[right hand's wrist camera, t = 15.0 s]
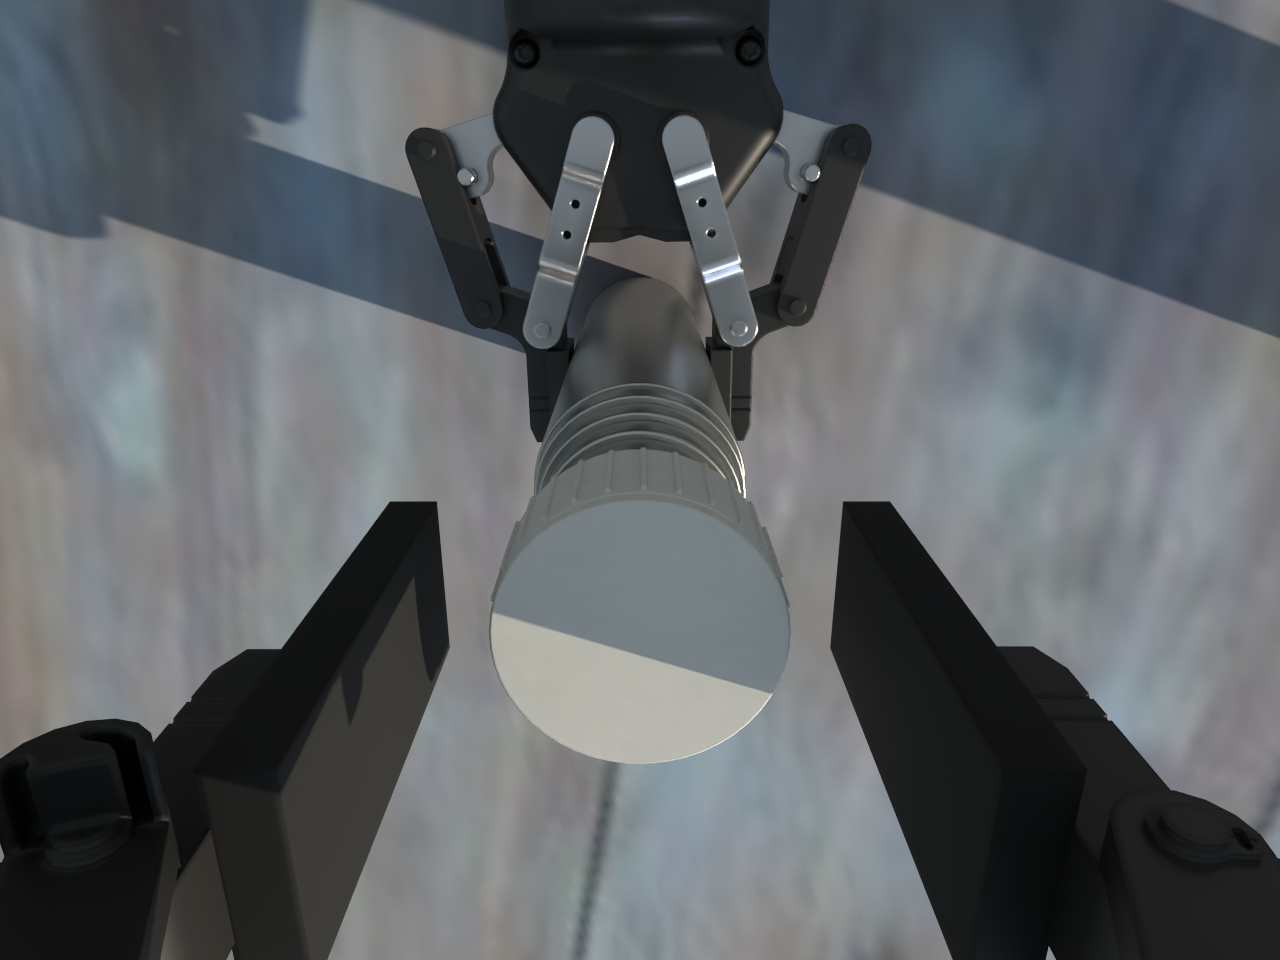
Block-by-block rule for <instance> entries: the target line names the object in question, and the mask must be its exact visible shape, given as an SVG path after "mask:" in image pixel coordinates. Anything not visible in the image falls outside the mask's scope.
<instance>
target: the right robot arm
mask: <svg viewBox="0 0 1280 960" xmlns="http://www.w3.org/2000/svg"><path fill="white" fill-rule="evenodd" d="M449 648H450V646H449V635H448V623H447V612H446V601H445V589H444V578H443V567H442V555H441V544H440V533H439V521H438V510H437V502H389V504H388V505H387V506H386V508H385V509H384V511H383V512H382V513H381V515H380V516H379V517H378V519H377V520H376V521H375V523H374V524H373V525H372V527H371V528H370V530H369V531H368V532H367V534H366V535H365V536H364V538H363V539H362V540H361V542H360V543H359V544H358V546H357V547H356V549H355V550H354V551H353V553H352V554H351V555H350V557H349V558H348V559H347V561H346V562H345V563H344V565H343V566H342V567H341V569H340V570H339V572H338V573H337V574H336V576H335V577H334V578H333V580H332V581H331V582H330V584H329V585H328V586H327V588H326V589H325V591H324V592H323V593H322V595H321V596H320V597H319V599H318V600H317V601H316V603H315V604H314V605H313V607H312V608H311V610H310V611H309V612H308V614H307V615H306V616H305V618H304V619H303V620H302V622H301V623H300V624H299V626H298V627H297V628H296V630H295V631H294V633H293V634H292V635H291V637H290V638H289V639H288V641H287V642H286V643H285V645H284V646H283V647H282V649H247V650H245V651H244V652H242V653H241V654H239V655H238V656H236V657H234V658H233V659H231V660H230V661H228V662H227V663H225V664H223V665H222V666H220V667H219V668H217V669H216V670H214V671H213V672H212V673H211V674H210V675H209V677H208V678H207V679H206V680H205V681H204V683H203V684H202V685H201V686H200V687H199V688H198V690H197V691H196V692H195V693H194V694H193V696H192V700H191V702H187V703H186V704H185V705H184V706H183V708H182V709H181V710H180V711H179V712H178V713H177V715H176V716H175V717H174V721H173V724H168V725H167V727H166V728H165V729H164V730H163V731H162V733H161V734H160V735H159V736H158V737H157V738H156V740H155V741H154V742H153V739H152V735H151V733H150V732H149V731H148V730H147V729H145V728H144V727H143V726H141V725H140V724H139V723H136V722H131V721H126V720H120V719H105V720H92V721H84V722H81V723H77V724H73V725H69V726H66V727H62V728H58V729H54V730H52V731H50V732H48V733H45V734H43V735H41V736H39V737H36V738H34V739H32V740H30V741H27V742H25V743H23V744H21V745H20V746H18V747H17V748H15V749H14V750H13V751H11V752H10V753H8V754H7V755H5V756H4V757H2V758H1V759H0V844H1V847H2V850H3V853H4V856H5V857H4V859H3V861H2V862H1V863H0V960H226V959H227V957H228V955H229V953H230V951H231V949H232V951H233V955H234V960H327V959H328V956H329V954H330V951H331V949H332V946H333V944H334V941H335V938H336V936H337V933H338V931H339V928H340V926H341V923H342V921H343V918H344V916H345V913H346V910H347V908H348V905H349V903H350V900H351V898H352V895H353V893H354V890H355V888H356V885H357V882H358V880H359V877H360V875H361V872H362V870H363V867H364V865H365V862H366V860H367V857H368V854H369V852H370V849H371V847H372V844H373V842H374V839H375V837H376V834H377V831H378V829H379V826H380V824H381V821H382V819H383V816H384V814H385V811H386V809H387V806H388V803H389V801H390V798H391V796H392V793H393V791H394V788H395V786H396V783H397V781H398V778H399V775H400V773H401V770H402V768H403V765H404V763H405V760H406V758H407V755H408V753H409V750H410V747H411V745H412V742H413V740H414V737H415V735H416V732H417V730H418V727H419V725H420V722H421V719H422V717H423V714H424V712H425V709H426V707H427V704H428V702H429V699H430V696H431V694H432V691H433V689H434V686H435V684H436V681H437V679H438V676H439V674H440V671H441V668H442V666H443V663H444V661H445V658H446V656H447V653H448V651H449ZM830 648H831V651H832V653H833V656H834V658H835V661H836V663H837V666H838V668H839V671H840V674H841V676H842V679H843V681H844V684H845V686H846V689H847V691H848V694H849V696H850V699H851V702H852V704H853V707H854V709H855V712H856V714H857V717H858V719H859V722H860V725H861V727H862V730H863V732H864V735H865V737H866V740H867V742H868V745H869V747H870V750H871V753H872V755H873V758H874V760H875V763H876V765H877V768H878V770H879V773H880V775H881V778H882V781H883V783H884V786H885V788H886V791H887V793H888V796H889V798H890V801H891V803H892V806H893V809H894V811H895V814H896V816H897V819H898V821H899V824H900V826H901V829H902V831H903V834H904V837H905V839H906V842H907V844H908V847H909V849H910V852H911V854H912V857H913V860H914V862H915V865H916V867H917V870H918V872H919V875H920V877H921V880H922V882H923V885H924V888H925V890H926V893H927V895H928V898H929V900H930V903H931V905H932V908H933V910H934V913H935V916H936V918H937V921H938V923H939V926H940V928H941V931H942V933H943V936H944V938H945V941H946V944H947V946H948V949H949V951H950V954H951V956H952V959H953V960H1046V955H1047V951H1048V946H1049V947H1050V949H1051V951H1052V953H1053V955H1054V956H1055V958H1056V960H1280V859H1279V858H1277V857H1276V855H1275V854H1274V852H1273V851H1272V850H1271V848H1270V847H1269V846H1268V844H1267V843H1266V841H1265V840H1264V839H1263V837H1262V836H1261V835H1260V834H1259V833H1258V832H1257V831H1255V830H1254V829H1253V828H1251V827H1250V826H1249V825H1248V824H1246V823H1245V822H1244V821H1243V820H1241V819H1240V818H1239V817H1237V816H1236V815H1234V814H1232V813H1231V812H1229V811H1227V810H1225V809H1223V808H1221V807H1219V806H1217V805H1215V804H1213V803H1211V802H1209V801H1207V800H1204V799H1201V798H1198V797H1194V796H1191V795H1188V794H1184V793H1181V792H1178V791H1173V790H1170V789H1169V788H1168V787H1167V785H1166V784H1165V783H1164V782H1163V781H1162V779H1161V778H1160V777H1159V776H1158V775H1157V774H1156V772H1155V771H1154V770H1153V769H1152V768H1151V766H1150V765H1149V764H1148V763H1147V762H1146V761H1145V759H1144V758H1143V757H1142V756H1141V755H1140V753H1139V752H1138V751H1137V750H1136V749H1135V748H1134V746H1133V745H1132V744H1131V743H1130V742H1129V740H1128V739H1127V738H1126V737H1125V736H1124V735H1123V733H1122V732H1121V731H1120V730H1119V729H1118V727H1117V726H1116V725H1115V724H1114V723H1113V721H1108V720H1107V714H1106V713H1105V712H1104V711H1103V710H1102V708H1101V707H1100V706H1099V705H1098V704H1097V703H1096V701H1095V700H1094V699H1090V698H1089V693H1088V692H1087V691H1086V690H1085V688H1084V687H1083V686H1082V685H1081V684H1080V682H1079V681H1078V680H1077V679H1076V678H1075V677H1074V675H1073V674H1072V673H1071V672H1070V671H1069V669H1068V668H1066V667H1065V666H1063V665H1061V664H1060V663H1058V662H1057V661H1055V660H1054V659H1052V658H1051V657H1049V656H1047V655H1046V654H1044V653H1043V652H1041V651H1040V650H1038V649H1036V648H1035V647H997V646H996V645H995V643H994V642H993V641H992V639H991V638H990V637H989V635H988V634H987V633H986V631H985V630H984V628H983V627H982V626H981V624H980V623H979V622H978V620H977V619H976V618H975V616H974V615H973V614H972V612H971V611H970V610H969V608H968V607H967V605H966V604H965V603H964V601H963V600H962V599H961V597H960V596H959V595H958V593H957V592H956V591H955V589H954V588H953V586H952V585H951V584H950V582H949V581H948V580H947V578H946V577H945V576H944V574H943V573H942V572H941V570H940V569H939V567H938V566H937V565H936V563H935V562H934V561H933V559H932V558H931V557H930V555H929V554H928V553H927V551H926V550H925V549H924V547H923V546H922V544H921V543H920V542H919V540H918V539H917V538H916V536H915V535H914V534H913V532H912V531H911V530H910V528H909V527H908V525H907V524H906V523H905V521H904V520H903V519H902V517H901V516H900V515H899V513H898V512H897V511H896V509H895V508H894V506H893V505H892V504H891V502H843V510H842V521H841V533H840V544H839V555H838V567H837V578H836V589H835V601H834V612H833V623H832V635H831V646H830Z"/></svg>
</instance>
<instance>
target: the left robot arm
mask: <svg viewBox="0 0 1280 960" xmlns="http://www.w3.org/2000/svg"><path fill="white" fill-rule="evenodd" d="M769 2H770V0H504V7H505V24H506V41H507V67H506V73H505V77H504V81H503V84H502V86H501V89H500V91H499V93H498V95H497V97H496V100H495V103H494V107H493V113H492V114H488V115H485V116H482V117H479V118H476V119H473V120H470V121H467V122H464V123H461V124H458V125H455V126H452V127H449V128H446V129H442V130H438V129H432V128H419V129H416V130H414V131H413V132H412V133H411V134H410V135H409V137H408V138H407V141H406V145H405V150H406V155H407V158H408V161H409V164H410V166H411V169H412V172H413V175H414V177H415V180H416V183H417V186H418V188H419V191H420V194H421V197H422V199H423V202H424V205H425V208H426V210H427V213H428V216H429V219H430V221H431V224H432V227H433V230H434V232H435V235H436V238H437V241H438V243H439V246H440V249H441V252H442V254H443V257H444V260H445V263H446V265H447V268H448V271H449V273H450V276H451V279H452V282H453V284H454V287H455V290H456V293H457V295H458V298H459V301H460V304H461V306H462V309H463V312H464V315H465V317H466V319H467V320H468V321H469V322H470V324H472V325H473V326H475V327H477V328H481V329H487V328H491V329H494V330H497V331H500V332H503V333H506V334H509V335H511V336H513V337H515V338H516V339H517V340H518V341H519V342H520V343H521V344H522V346H523V347H524V349H525V352H526V357H527V374H528V392H529V409H530V428H531V430H532V432H533V434H534V436H535V438H536V440H537V442H543V439H544V437H545V434H546V431H547V428H548V425H549V422H550V419H551V417H552V414H553V411H554V408H555V405H556V402H557V399H558V396H559V394H560V391H561V388H562V385H563V382H564V379H565V376H566V374H567V371H568V368H569V365H570V362H571V359H572V356H573V353H574V338H567V321H568V317H569V314H570V310H571V306H572V303H573V299H574V296H575V292H576V289H577V285H578V282H579V278H580V275H581V271H582V268H583V265H584V262H585V259H586V255H587V251H588V248H589V244H590V242H616V241H619V240H622V239H626V238H629V237H633V236H636V235H643V236H646V237H650V238H654V239H658V240H661V241H665V242H675V241H689V243H690V246H691V249H692V253H693V256H694V259H695V262H696V265H697V268H698V271H699V274H700V277H701V281H702V284H703V287H704V290H705V294H706V297H707V300H708V303H709V307H710V310H711V313H712V337H706V354H707V356H708V359H709V362H710V365H711V368H712V371H713V374H714V377H715V379H716V382H717V385H718V388H719V391H720V394H721V397H722V400H723V403H724V405H725V408H726V411H727V414H728V417H729V420H730V423H731V426H732V428H733V431H734V434H735V437H736V440H737V441H744V440H745V437H746V435H747V433H748V431H749V429H750V426H751V401H752V397H751V396H752V372H753V352H754V348H755V346H756V344H757V343H758V341H759V340H760V339H761V338H762V337H763V336H764V335H766V334H768V333H770V332H773V331H775V330H778V329H781V328H783V327H786V326H789V325H790V326H802V325H804V324H806V323H808V322H809V321H810V320H811V319H812V318H813V316H814V315H815V312H816V310H817V307H818V304H819V301H820V298H821V295H822V292H823V289H824V286H825V283H826V280H827V277H828V274H829V271H830V269H831V266H832V263H833V260H834V257H835V254H836V251H837V248H838V245H839V242H840V239H841V236H842V233H843V230H844V227H845V224H846V222H847V219H848V216H849V213H850V210H851V207H852V204H853V201H854V198H855V195H856V192H857V189H858V186H859V183H860V180H861V177H862V175H863V172H864V169H865V166H866V163H867V160H868V157H869V154H870V151H871V138H870V135H869V133H868V132H867V130H866V129H865V128H864V127H862V126H860V125H857V124H840V125H833V124H830V123H826V122H823V121H820V120H816V119H813V118H810V117H806V116H803V115H800V114H796V113H793V112H790V111H786V110H783V103H782V99H781V96H780V94H779V92H778V90H777V88H776V86H775V84H774V82H773V79H772V76H771V73H770V68H769V63H768V29H769ZM772 144H775V145H776V146H778V147H779V148H780V150H781V151H782V153H783V155H784V159H785V167H784V180H785V182H786V184H787V186H788V187H789V188H790V189H791V190H793V191H795V192H798V193H799V194H798V197H797V200H796V203H795V206H794V209H793V213H792V216H791V219H790V222H789V225H788V228H787V231H786V235H785V238H784V241H783V244H782V247H781V250H780V253H779V257H778V260H777V263H776V266H775V269H774V272H773V275H772V278H771V282H770V284H768V285H765V286H762V287H760V288H757V289H754V290H752V291H748V288H747V284H746V281H745V277H744V274H743V270H742V264H741V259H740V255H739V252H738V248H737V245H736V241H735V238H734V235H733V231H732V228H731V224H730V221H729V217H728V214H727V210H726V209H727V208H728V206H729V205H730V203H731V202H732V200H733V199H734V198H735V196H736V195H737V193H738V192H739V191H740V189H741V188H742V186H743V185H744V184H745V182H746V181H747V179H748V178H749V176H750V175H751V174H752V172H753V171H754V169H755V168H756V167H757V165H758V164H759V162H760V161H761V160H762V158H763V157H764V155H765V154H766V153H767V151H768V150H769V148H770V147H771V146H772ZM503 147H505V149H506V150H507V151H508V153H509V154H510V155H511V157H512V158H513V159H514V161H515V162H516V163H517V165H518V166H519V167H520V169H521V170H522V171H523V173H524V174H525V176H526V177H527V178H528V180H529V181H530V182H531V184H532V185H533V186H534V188H535V189H536V190H537V192H538V193H539V194H540V196H541V197H542V198H543V200H544V201H545V202H546V204H547V205H548V206H549V208H550V209H551V211H552V213H551V217H550V220H549V224H548V228H547V232H546V235H545V239H544V243H543V247H542V251H541V254H540V258H539V263H538V269H537V274H536V278H535V282H534V286H533V290H532V293H531V294H530V293H527V292H524V291H521V290H518V289H516V288H513V287H510V284H509V281H508V278H507V275H506V273H505V270H504V267H503V264H502V261H501V258H500V255H499V252H498V249H497V246H496V243H495V240H494V237H493V235H492V232H491V229H490V226H489V223H488V220H487V217H486V214H485V211H484V208H483V205H482V202H481V199H480V196H482V195H484V194H486V193H487V192H488V191H489V190H490V189H491V187H492V185H493V182H494V172H493V160H494V157H495V155H496V153H497V152H498V151H499V150H500V149H501V148H503Z"/></svg>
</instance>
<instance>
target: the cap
mask: <svg viewBox="0 0 1280 960" xmlns="http://www.w3.org/2000/svg"><path fill="white" fill-rule="evenodd" d="M781 577H783V576H782V573H781V570H780V567H779V564H778V561H777V558H776V556H775V553H774V550H773V547H772V544H771V541H770V538H769V535H768V532H767V529H766V527H763V528H762V527H761V525H760V522H759V520H758V517H757V514H756V511H755V508H754V505H753V503H752V502H751V501H750V502H749V503H748V502H747V500H746V499H745V498H744V497H743V495H742V494H741V493H740V492H739V491H738V490H737V489H736V488H735V485H734V482H733V481H732V480H731V479H730V480H729V481H728V480H727V479H725V478H724V477H722V476H721V475H720V474H718V473H717V472H716V471H714V470H712V469H711V468H709V467H708V464H706V463H705V462H703V464H702V463H700V462H697V461H695V460H692V459H690V458H687V457H685V456H681V455H678V452H674V451H673V453H670V452H665V451H657V450H649V449H646V448H644V447H641V449H631V450H622V451H614V450H610V451H608V453H606V454H602V455H598V456H595V457H592V458H590V459H587V460H585V461H583V459H581V460H579V461H578V463H577V464H576V465H574V466H573V467H571V468H569V469H567V470H565V471H564V472H563V473H561V474H560V475H558V476H556V475H554V476H553V477H551V480H550V483H548V484H547V485H546V486H545V487H544V488H543V489H542V490H541V491H540V492H539V493H538V495H537V496H536V497H534V496H532V497H531V499H530V501H529V504H528V507H527V510H526V512H525V514H524V515H523V517H522V519H521V521H520V522H519V521H516V524H515V526H514V529H513V532H512V535H511V538H510V541H509V544H508V546H507V549H506V552H505V555H504V558H503V561H502V564H501V567H500V573H499V576H498V579H497V582H496V585H495V587H494V590H493V593H492V596H491V601H493V605H492V609H491V613H490V625H489V637H490V649H491V653H492V658H493V663H494V666H495V669H496V671H497V674H498V677H499V679H500V682H501V683H502V685H503V687H504V689H505V691H506V693H507V694H508V696H509V698H510V699H511V700H512V702H513V703H514V704H515V706H516V707H517V708H518V710H519V711H520V712H521V713H522V714H523V715H524V716H525V717H526V718H527V719H528V720H529V721H530V722H531V723H532V724H533V725H534V726H535V727H537V728H538V729H539V730H540V731H542V732H543V733H544V734H545V735H547V736H549V737H550V738H552V739H553V740H555V741H557V742H558V743H560V744H562V745H564V746H566V747H568V748H570V749H572V750H574V751H577V752H579V753H582V754H585V755H588V756H591V757H594V758H599V759H603V760H608V761H613V762H622V763H658V762H667V761H672V760H676V759H681V758H685V757H688V756H691V755H694V754H697V753H700V752H703V751H705V750H707V749H709V748H711V747H714V746H716V745H718V744H720V743H721V742H723V741H725V740H726V739H728V738H729V737H731V736H733V735H734V734H735V733H737V732H738V731H739V730H740V729H742V728H743V727H744V726H745V725H747V724H748V723H749V722H750V721H751V720H752V719H753V718H754V717H755V716H756V715H757V714H758V713H759V712H760V710H761V709H762V708H763V706H764V705H765V704H766V702H767V701H768V700H769V698H770V697H771V695H772V693H773V692H774V690H775V688H776V686H777V684H778V683H779V680H780V678H781V675H782V673H783V670H784V667H785V665H786V660H787V656H788V651H789V644H790V619H789V611H788V608H789V602H788V599H787V596H786V593H785V590H784V587H783V584H782V581H781Z"/></svg>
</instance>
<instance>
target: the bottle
mask: <svg viewBox="0 0 1280 960" xmlns="http://www.w3.org/2000/svg"><path fill="white" fill-rule="evenodd" d="M641 447H644V448H646V449H649V450H657V451H665V452H670V453H673V451H674V452H678V455H681V456H685V457H687V458H690V459H692V460H695V461H697V462H700V463H702V464H703V462H705V463H706V464H708V467H709V468H711V469H712V470H714V471H716V472H717V473H718V474H720V475H721V476H722V477H724V478H725V479H727V480H728V481H729V480H730V479H731V480H732V481H733V482H734V485H735V488H736V489H737V490H738V491H739V492H740V493H741V494H742V495H743V497H744V498H745V499H746V487H745V470H744V463H743V459H742V455H741V452H740V449H739V446H738V443H737V440H736V437H735V434H734V431H733V428H732V426H731V423H730V420H729V417H728V414H727V411H726V408H725V405H724V403H723V400H722V397H721V394H720V391H719V388H718V385H717V382H716V379H715V377H714V374H713V371H712V368H711V365H710V362H709V359H708V356H707V354H706V351H705V348H704V345H703V342H702V339H701V336H700V333H699V330H698V328H697V325H696V322H695V319H694V316H693V314H692V311H691V309H690V307H689V305H688V303H687V302H686V300H685V299H684V298H683V296H682V295H681V294H680V293H679V292H678V291H676V290H675V289H674V288H673V287H671V286H670V285H668V284H666V283H664V282H662V281H659V280H656V279H653V278H647V277H633V278H627V279H624V280H621V281H618V282H616V283H614V284H612V285H610V286H609V287H607V288H606V289H605V290H604V291H602V292H601V293H600V294H599V295H598V297H597V298H596V299H595V300H594V302H593V303H592V305H591V307H590V309H589V311H588V314H587V316H586V319H585V322H584V325H583V328H582V331H581V333H580V336H579V339H578V342H577V345H576V348H575V351H574V353H573V356H572V359H571V362H570V365H569V368H568V371H567V374H566V376H565V379H564V382H563V385H562V388H561V391H560V394H559V396H558V399H557V402H556V405H555V408H554V411H553V414H552V417H551V419H550V422H549V425H548V428H547V431H546V434H545V437H544V439H543V442H542V445H541V448H540V451H539V454H538V458H537V462H536V468H535V478H534V480H535V484H534V497H536V496H537V495H538V493H539V492H540V491H541V490H542V489H543V488H544V487H545V486H546V485H547V484H548V483H550V480H551V477H553V476H554V475H556V476H558V475H560V474H561V473H563V472H564V471H565V470H567V469H569V468H571V467H573V466H574V465H576V464H577V463H578V461H579V460H581V459H583V461H585V460H587V459H590V458H592V457H595V456H598V455H602V454H606V453H608V451H610V450H614V451H622V450H631V449H641Z"/></svg>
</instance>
